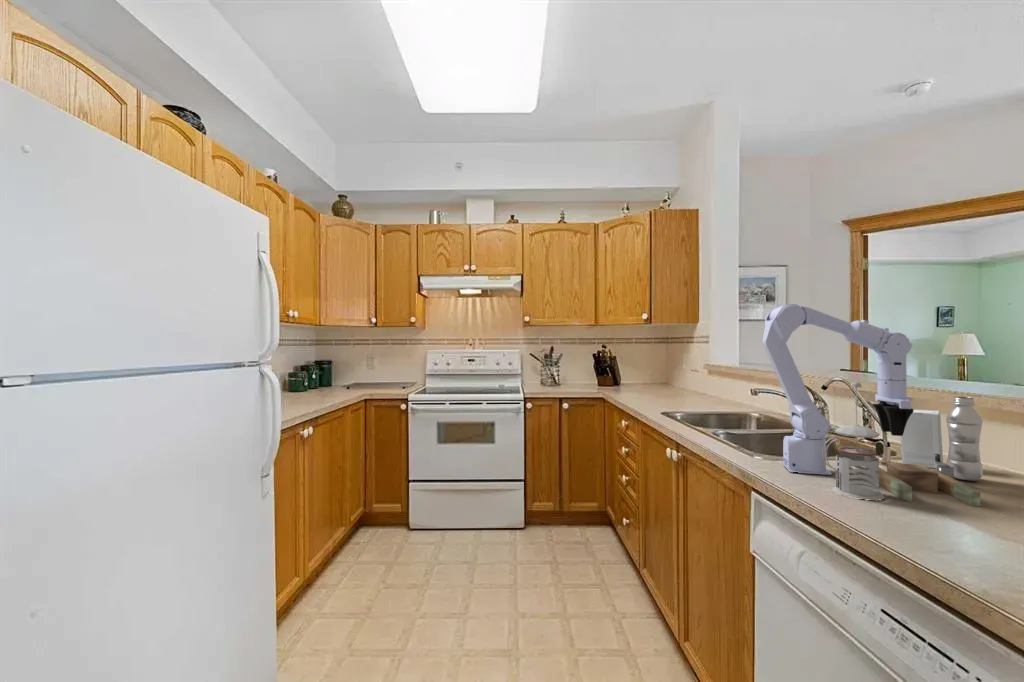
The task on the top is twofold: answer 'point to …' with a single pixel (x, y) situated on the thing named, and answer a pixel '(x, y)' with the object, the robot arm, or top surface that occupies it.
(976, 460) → the silver metal bottle
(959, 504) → the top surface
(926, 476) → the box
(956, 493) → the bay
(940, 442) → the skincare box
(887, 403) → the robot arm
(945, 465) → the crank handle cylinder
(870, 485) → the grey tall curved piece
